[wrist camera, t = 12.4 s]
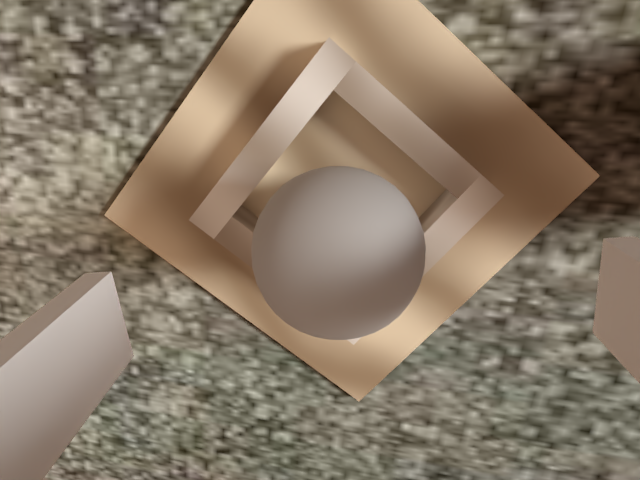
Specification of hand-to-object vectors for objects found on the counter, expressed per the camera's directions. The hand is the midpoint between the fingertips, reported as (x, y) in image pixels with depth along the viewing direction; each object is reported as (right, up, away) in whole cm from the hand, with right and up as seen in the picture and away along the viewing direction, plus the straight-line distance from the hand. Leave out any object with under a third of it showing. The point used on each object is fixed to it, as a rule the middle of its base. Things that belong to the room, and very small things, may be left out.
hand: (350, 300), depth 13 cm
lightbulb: (0, +4, +12) cm, 12 cm away
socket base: (0, +4, +12) cm, 13 cm away
